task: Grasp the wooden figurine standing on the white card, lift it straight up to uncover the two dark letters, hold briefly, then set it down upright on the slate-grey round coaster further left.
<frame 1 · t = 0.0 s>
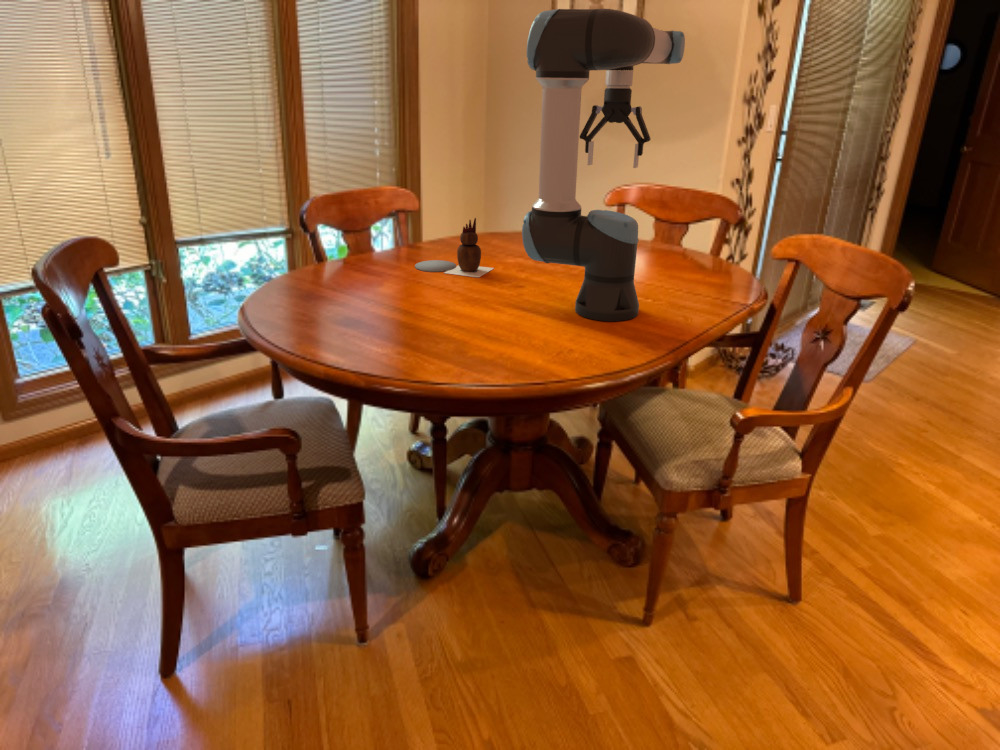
hand: (612, 166, 200), 28 cm above the table, fingers open, 13 cm apart
coaster: (435, 266, 202), on the table
wooden figurine: (469, 271, 198), resting on white card
white card: (469, 270, 198), on the table
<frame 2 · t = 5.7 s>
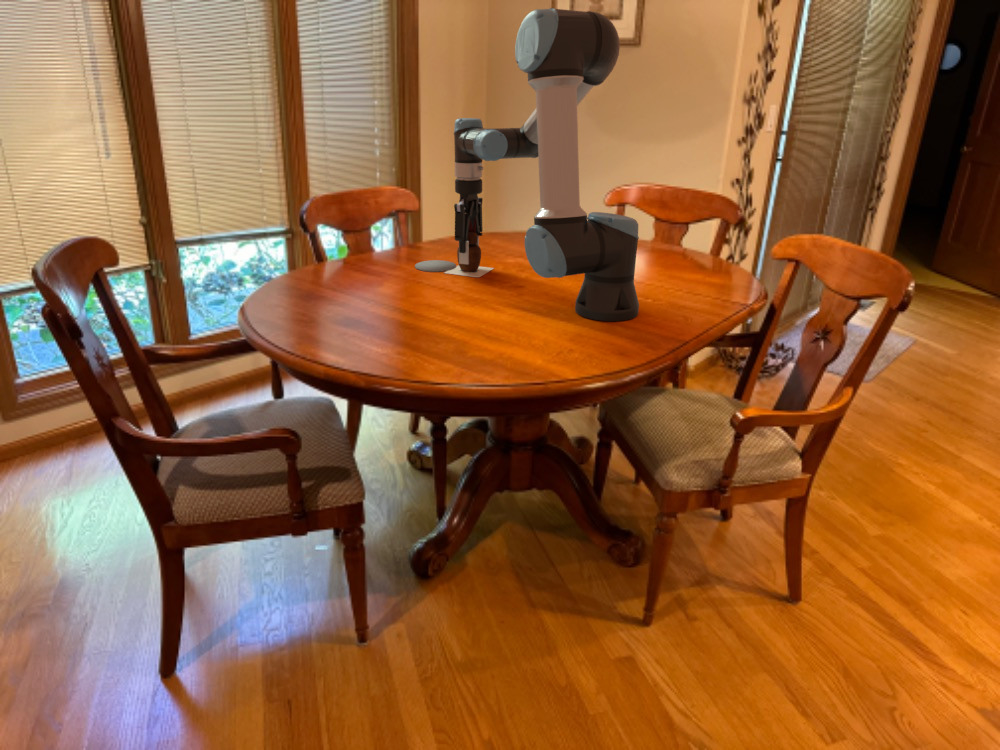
hand: (469, 260, 197), 3 cm above the table, fingers closed on wooden figurine, 6 cm apart
wooden figurine: (469, 271, 198), resting on white card, touching gripper
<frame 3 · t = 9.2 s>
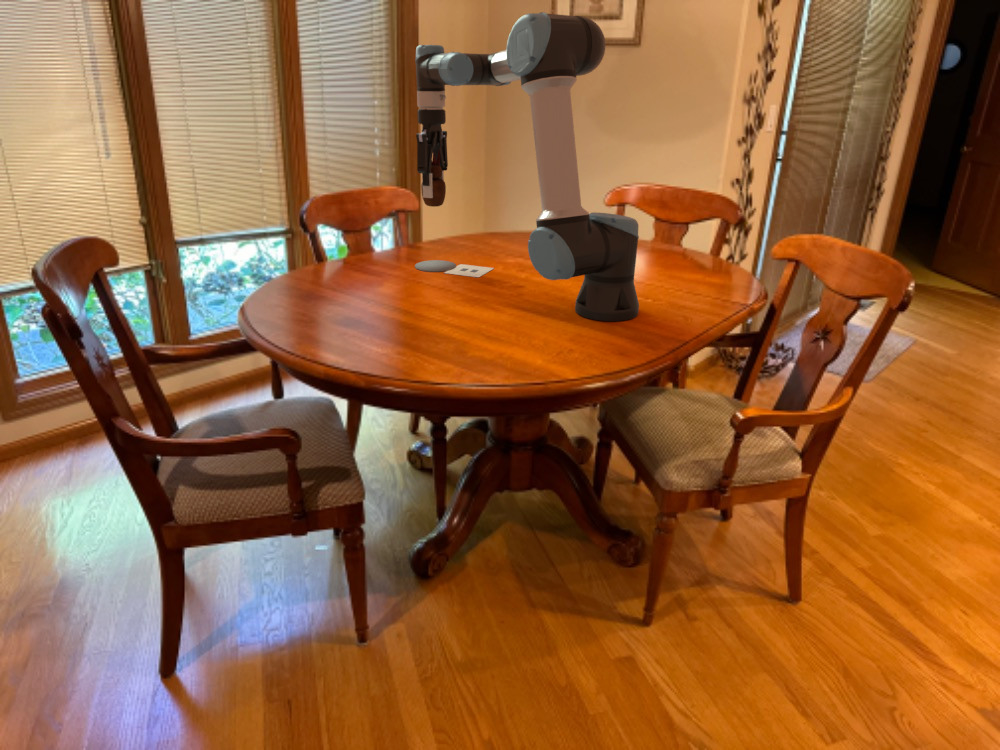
hand: (433, 195, 194), 20 cm above the table, fingers closed on wooden figurine, 6 cm apart
wooden figurine: (434, 206, 195), point 17 cm above the table, touching gripper
when the fingers open (5 cm above the table, at t = 12.7 s): wooden figurine drops 1 cm, resting on coaster.
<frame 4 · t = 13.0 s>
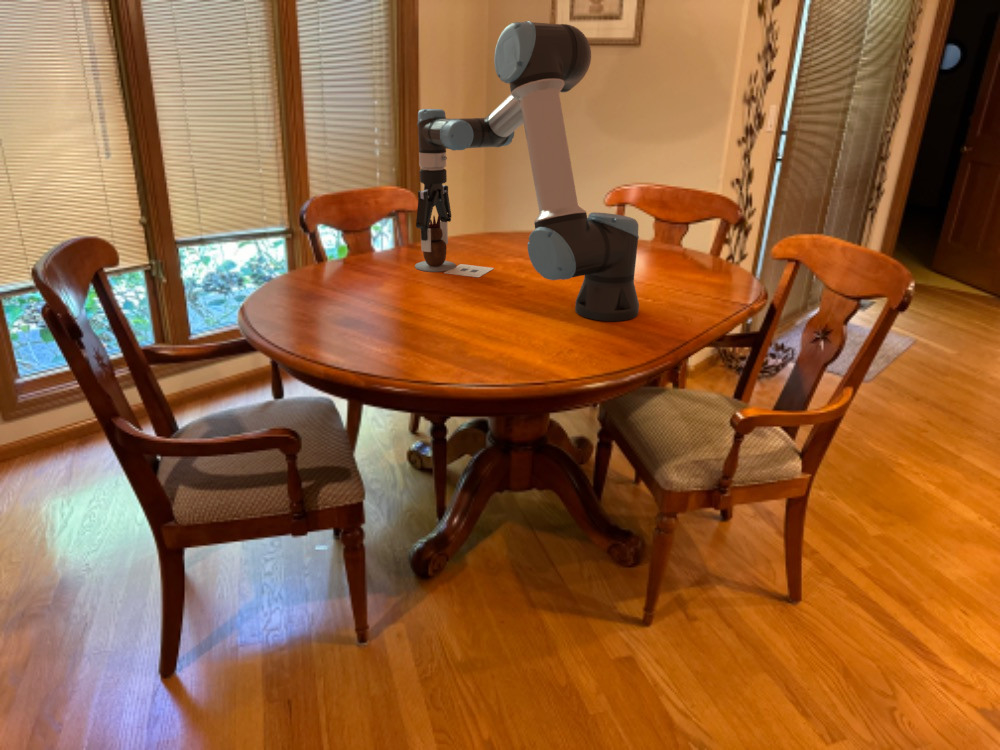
hand: (434, 247, 200), 6 cm above the table, fingers open, 10 cm apart
wooden figurine: (435, 265, 202), resting on coaster
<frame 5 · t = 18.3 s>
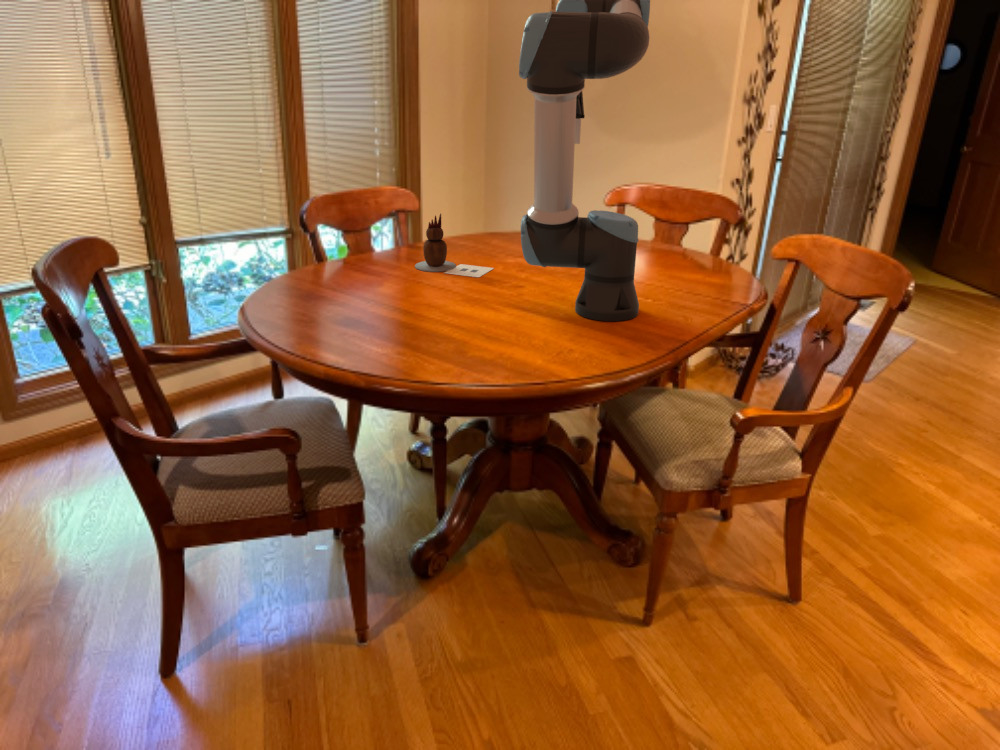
hand: (567, 145, 186), 35 cm above the table, fingers open, 13 cm apart
at the end: wooden figurine inside the target area on the coaster (0.0 cm from its centre), point 0.2 cm above the coaster's base; wooden figurine tilted 0°; wooden figurine touching coaster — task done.
